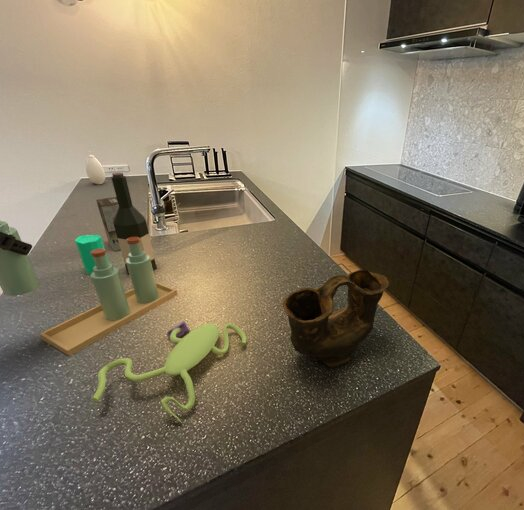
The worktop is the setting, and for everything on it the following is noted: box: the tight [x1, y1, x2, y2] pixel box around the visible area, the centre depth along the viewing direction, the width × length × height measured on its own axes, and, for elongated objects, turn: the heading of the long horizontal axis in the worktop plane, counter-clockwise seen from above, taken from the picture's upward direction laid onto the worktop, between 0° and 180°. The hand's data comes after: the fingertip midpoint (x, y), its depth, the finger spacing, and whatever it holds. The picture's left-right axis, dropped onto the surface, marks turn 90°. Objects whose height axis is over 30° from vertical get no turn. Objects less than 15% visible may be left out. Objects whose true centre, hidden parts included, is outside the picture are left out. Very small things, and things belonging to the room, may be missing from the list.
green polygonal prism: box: [74, 233, 110, 275], centre depth 91 cm, size 6×6×12 cm
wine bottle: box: [110, 172, 158, 276], centre depth 88 cm, size 8×8×30 cm
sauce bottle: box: [85, 151, 106, 185], centre depth 166 cm, size 8×8×18 cm
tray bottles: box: [90, 237, 159, 321], centre depth 75 cm, size 13×5×18 cm, turn 155°
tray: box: [39, 281, 179, 357], centre depth 76 cm, size 26×10×2 cm, turn 155°
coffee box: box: [96, 196, 121, 252], centre depth 105 cm, size 9×6×16 cm
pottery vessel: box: [281, 269, 390, 369], centre depth 67 cm, size 25×11×20 cm, turn 127°
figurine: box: [91, 320, 248, 424], centre depth 62 cm, size 18×27×6 cm
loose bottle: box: [0, 220, 41, 297], centre depth 56 cm, size 5×5×18 cm
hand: (16, 247), depth 58 cm, fingers closed on loose bottle, 5 cm apart
